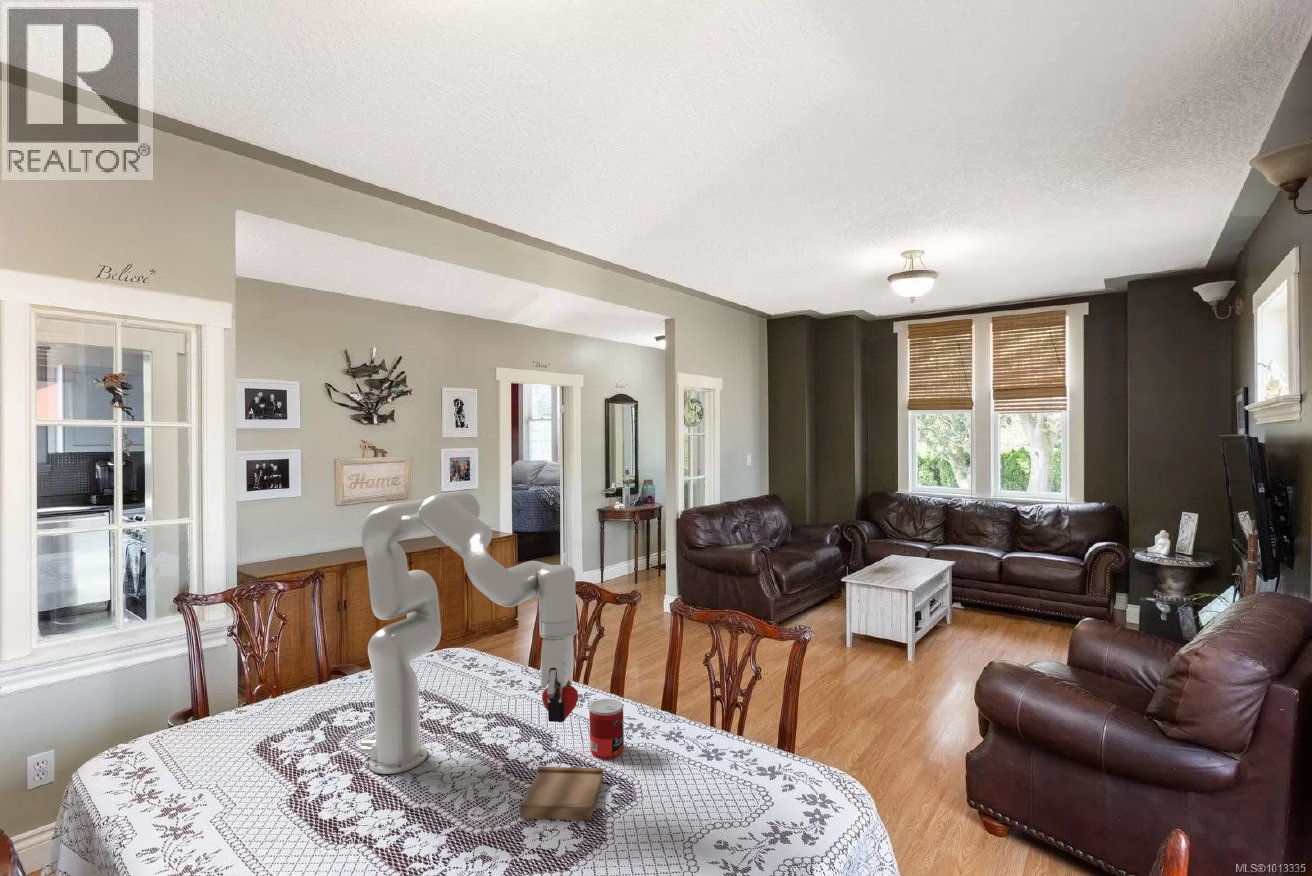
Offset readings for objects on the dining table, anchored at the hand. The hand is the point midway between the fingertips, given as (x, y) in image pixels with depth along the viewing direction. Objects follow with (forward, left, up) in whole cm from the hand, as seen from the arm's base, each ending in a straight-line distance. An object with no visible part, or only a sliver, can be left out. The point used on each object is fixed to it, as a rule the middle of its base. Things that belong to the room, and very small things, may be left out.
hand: (560, 712), depth 131 cm
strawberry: (0, 0, -2) cm, 2 cm away
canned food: (+6, +19, -18) cm, 27 cm away
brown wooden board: (0, 0, -18) cm, 18 cm away
